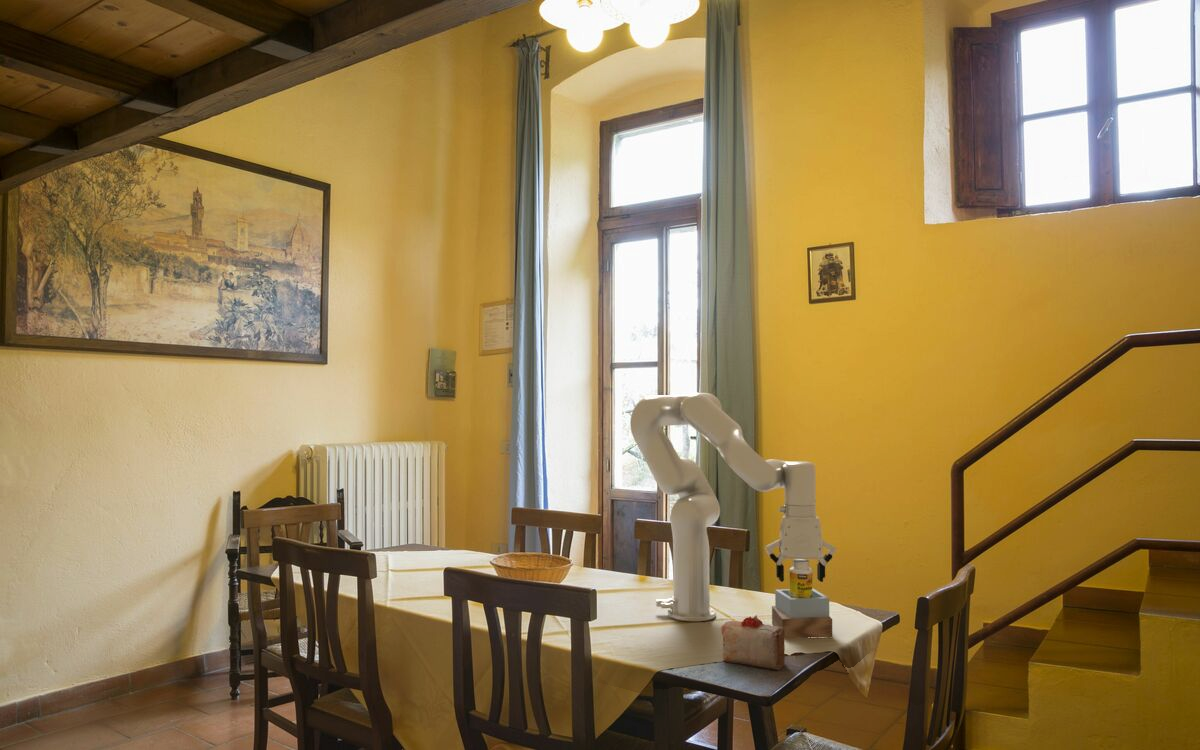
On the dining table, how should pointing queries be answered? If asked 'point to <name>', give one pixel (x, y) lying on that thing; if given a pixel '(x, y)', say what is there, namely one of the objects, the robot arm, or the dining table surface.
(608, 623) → the dining table surface
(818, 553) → the robot arm
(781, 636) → the food item
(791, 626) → the tower base
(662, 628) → the dining table surface
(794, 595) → the supplement bottle
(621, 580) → the dining table surface
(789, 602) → the tower top
